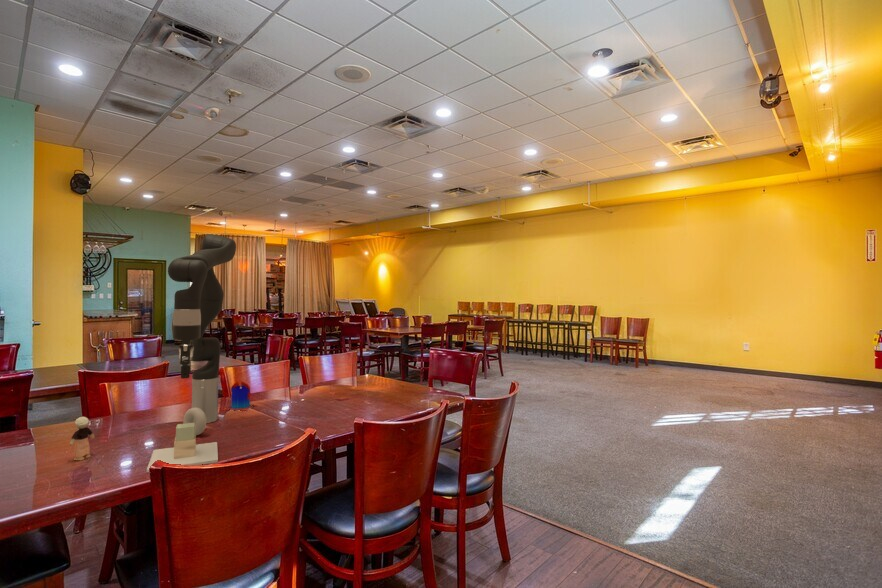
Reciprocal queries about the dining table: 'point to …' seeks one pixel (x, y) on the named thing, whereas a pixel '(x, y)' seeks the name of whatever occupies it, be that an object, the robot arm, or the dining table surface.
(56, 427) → the dining table surface
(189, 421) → the donut
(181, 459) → the base plate
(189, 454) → the birch block
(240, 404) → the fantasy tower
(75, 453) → the grandmother figurine
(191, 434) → the sage block
